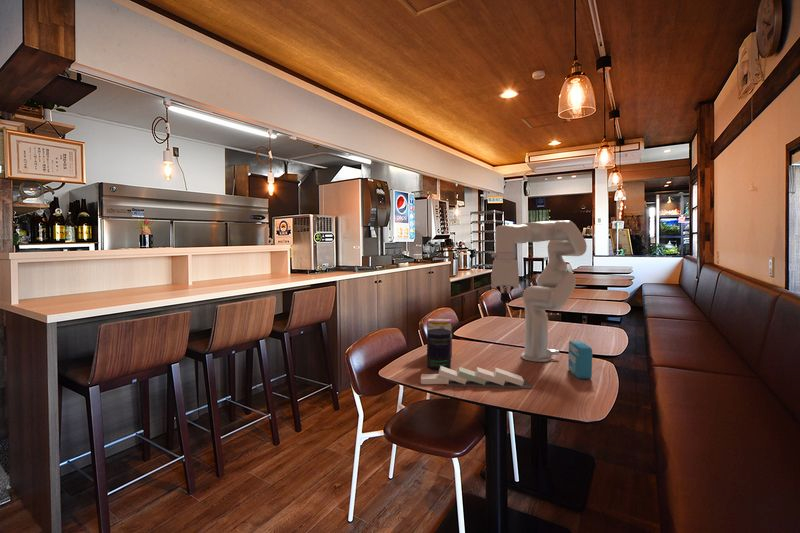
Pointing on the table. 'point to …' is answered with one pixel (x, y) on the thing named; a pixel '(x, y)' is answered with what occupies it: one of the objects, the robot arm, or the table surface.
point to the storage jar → (438, 349)
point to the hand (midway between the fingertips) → (504, 302)
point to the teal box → (580, 359)
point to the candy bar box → (440, 327)
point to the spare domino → (470, 375)
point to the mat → (490, 384)
